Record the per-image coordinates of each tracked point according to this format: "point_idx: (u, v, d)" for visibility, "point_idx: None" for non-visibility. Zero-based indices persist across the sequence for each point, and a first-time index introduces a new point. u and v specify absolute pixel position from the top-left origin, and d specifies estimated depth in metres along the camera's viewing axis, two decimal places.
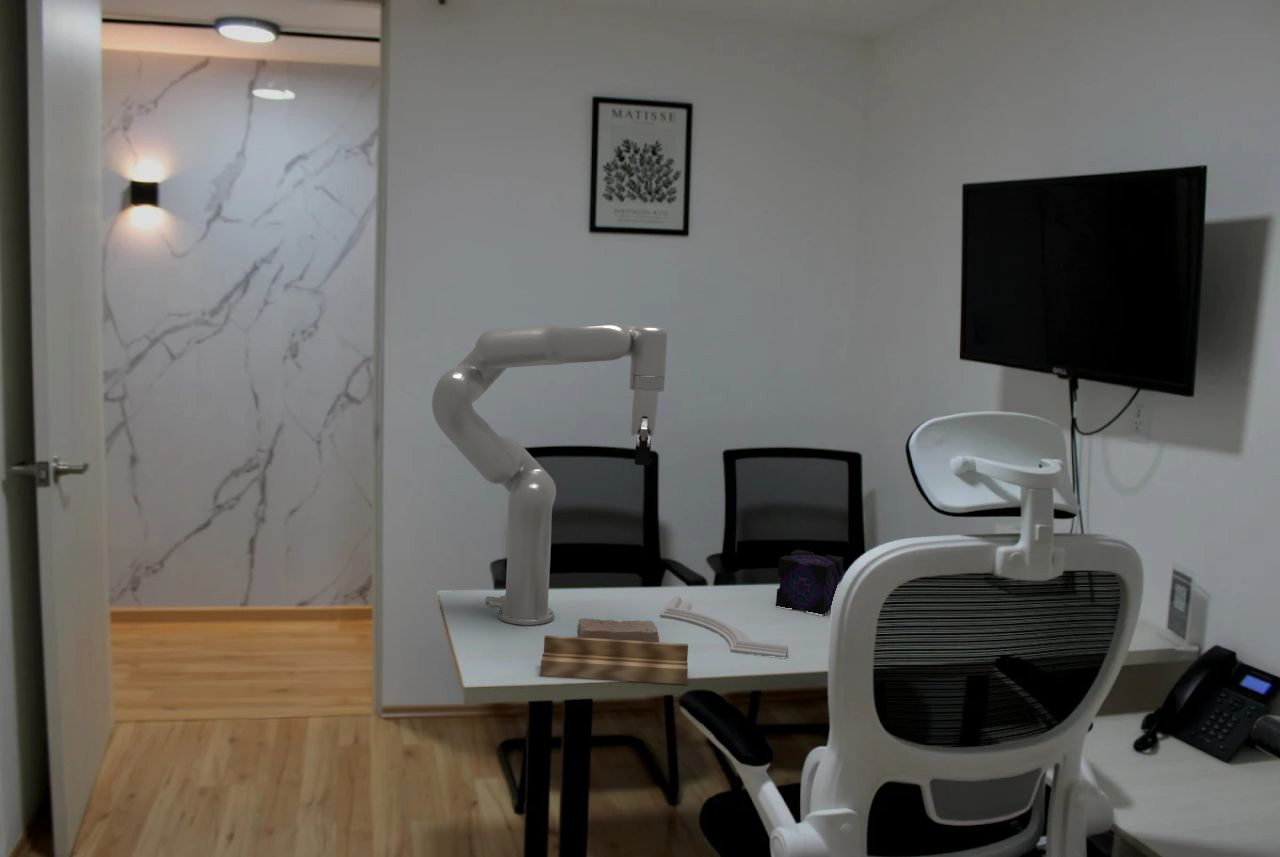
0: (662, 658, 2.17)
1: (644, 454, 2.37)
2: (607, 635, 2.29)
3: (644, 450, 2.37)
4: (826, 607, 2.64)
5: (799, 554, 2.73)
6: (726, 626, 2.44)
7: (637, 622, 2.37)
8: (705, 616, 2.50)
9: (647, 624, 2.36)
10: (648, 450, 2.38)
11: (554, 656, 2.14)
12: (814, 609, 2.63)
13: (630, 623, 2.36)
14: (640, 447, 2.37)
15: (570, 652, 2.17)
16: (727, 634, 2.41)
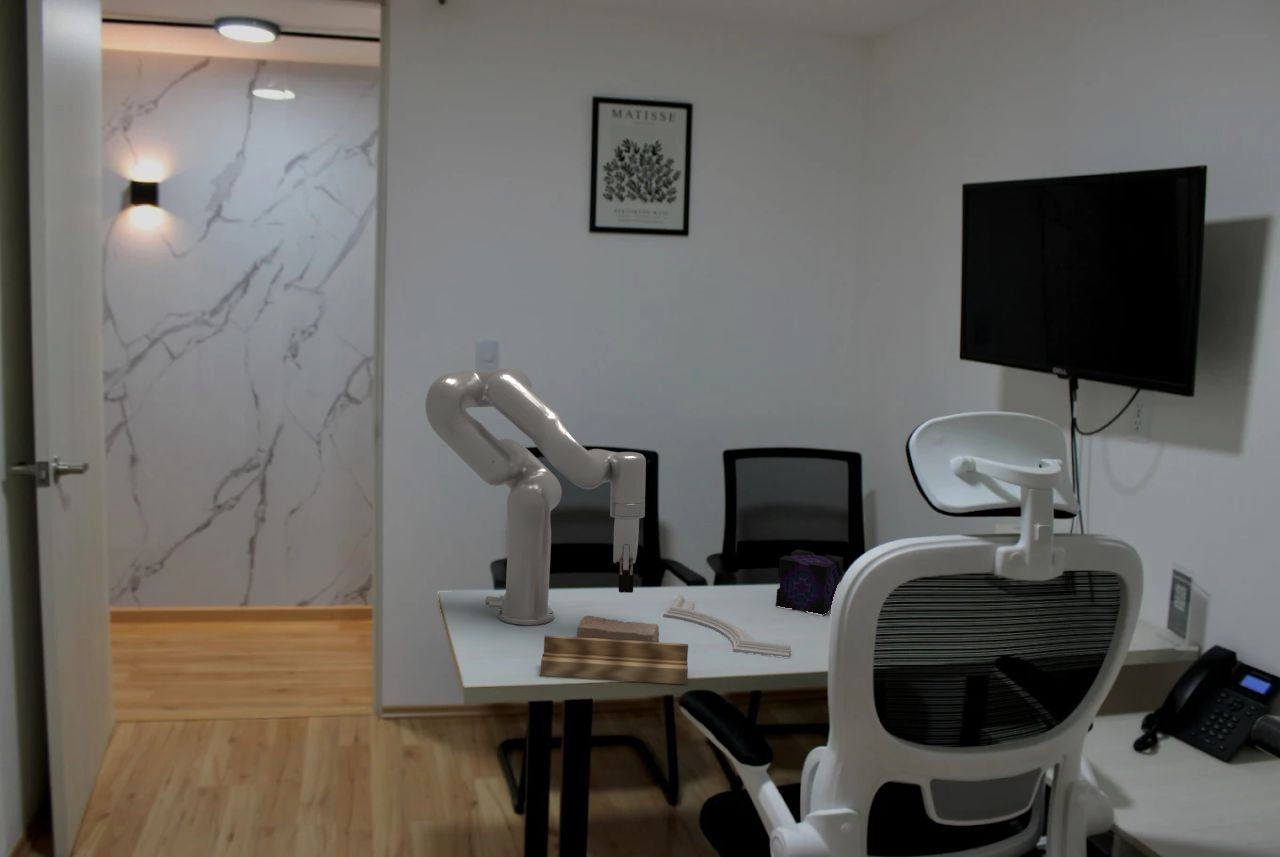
0: (662, 658, 2.17)
1: (627, 582, 2.42)
2: (602, 634, 2.30)
3: (627, 578, 2.42)
4: (826, 607, 2.64)
5: (799, 554, 2.73)
6: (729, 626, 2.44)
7: (640, 624, 2.35)
8: (708, 616, 2.50)
9: (648, 627, 2.34)
10: (631, 578, 2.43)
11: (554, 656, 2.14)
12: (814, 609, 2.63)
13: (632, 624, 2.35)
14: (623, 575, 2.42)
15: (570, 652, 2.17)
16: (730, 634, 2.42)
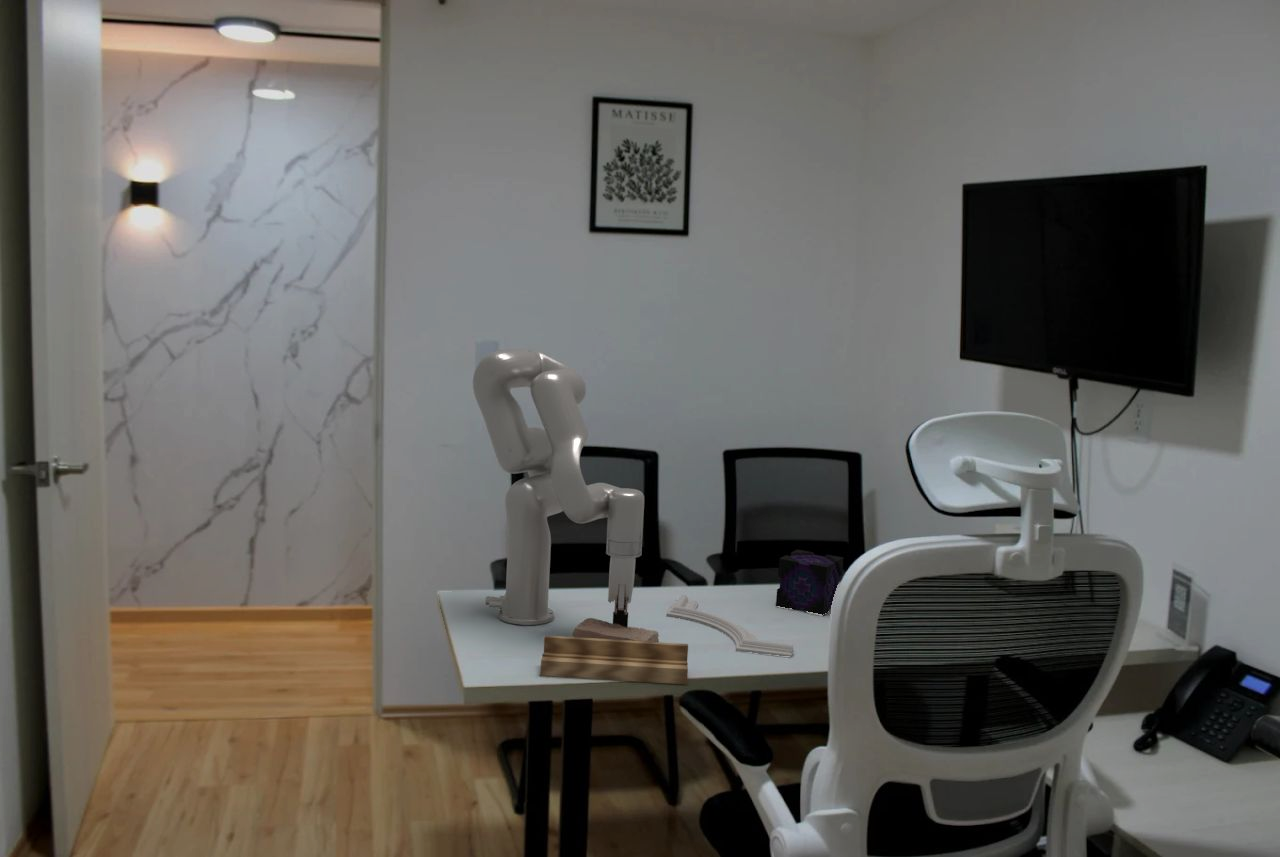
0: (662, 658, 2.17)
1: (622, 622, 2.36)
2: (596, 637, 2.28)
3: (622, 618, 2.36)
4: (826, 607, 2.64)
5: (799, 554, 2.73)
6: (732, 625, 2.44)
7: (639, 630, 2.32)
8: (711, 615, 2.51)
9: (646, 633, 2.30)
10: (626, 617, 2.37)
11: (554, 656, 2.14)
12: (814, 609, 2.63)
13: (631, 630, 2.32)
14: (617, 615, 2.36)
15: (570, 652, 2.17)
16: (733, 633, 2.42)
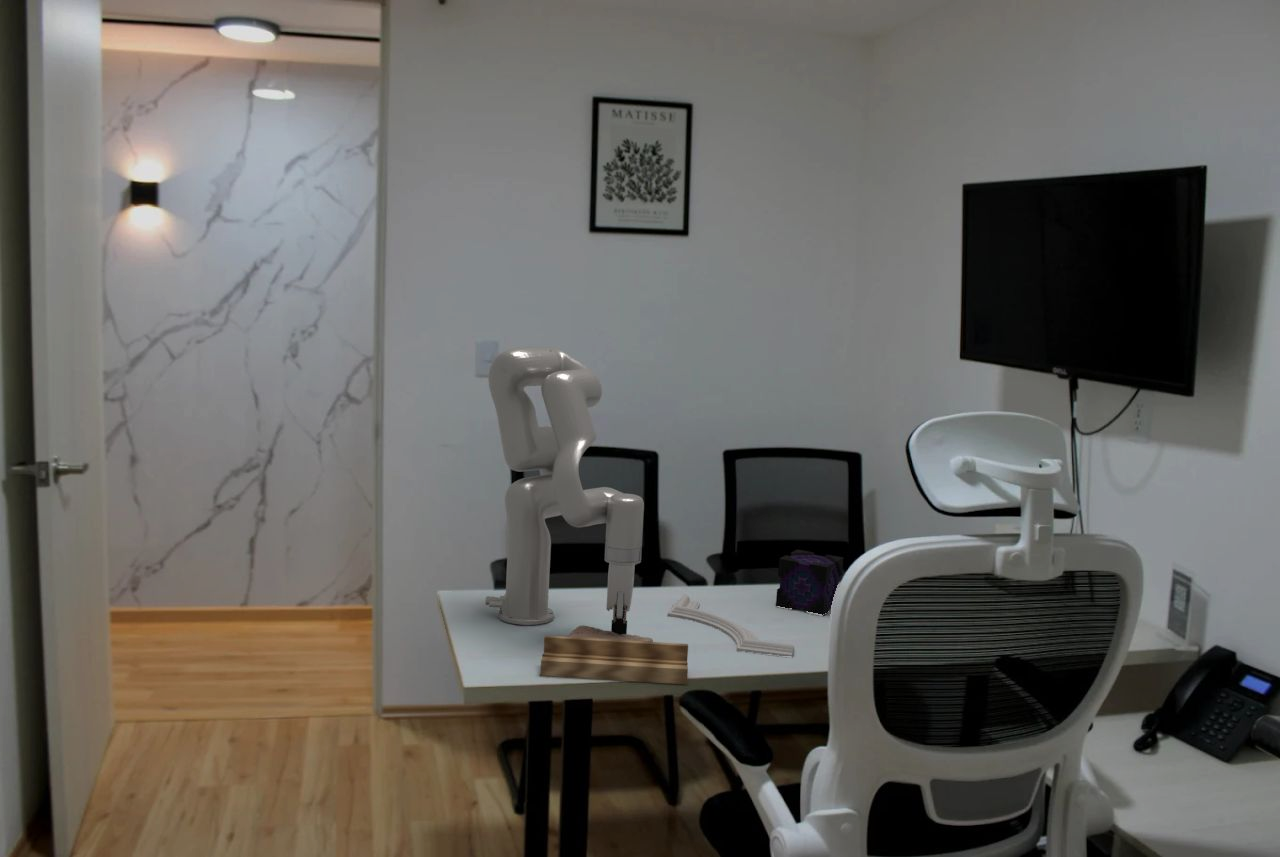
0: (662, 658, 2.17)
1: (620, 630, 2.30)
2: None
3: (620, 626, 2.30)
4: (826, 607, 2.64)
5: (799, 554, 2.73)
6: (733, 625, 2.45)
7: (634, 637, 2.27)
8: (712, 615, 2.51)
9: (640, 640, 2.25)
10: (624, 626, 2.31)
11: (554, 656, 2.14)
12: (814, 609, 2.63)
13: (625, 637, 2.27)
14: (616, 623, 2.30)
15: (570, 652, 2.17)
16: (734, 633, 2.42)
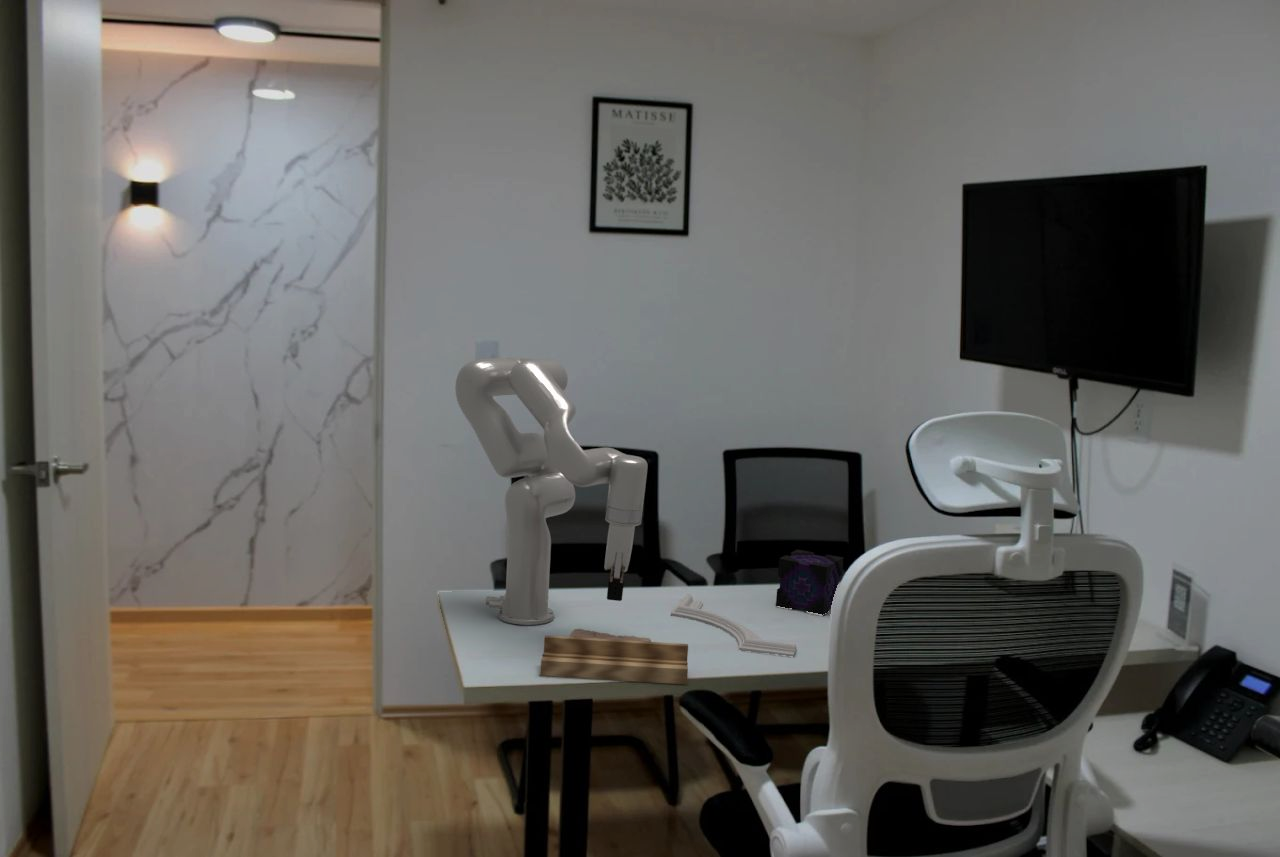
0: (662, 658, 2.17)
1: (617, 590, 2.33)
2: None
3: (617, 586, 2.32)
4: (826, 607, 2.64)
5: (799, 554, 2.73)
6: (735, 625, 2.45)
7: (632, 638, 2.26)
8: (715, 615, 2.51)
9: None
10: (621, 586, 2.33)
11: (554, 656, 2.14)
12: (814, 609, 2.63)
13: (624, 638, 2.26)
14: (613, 583, 2.32)
15: (570, 652, 2.17)
16: (736, 633, 2.43)
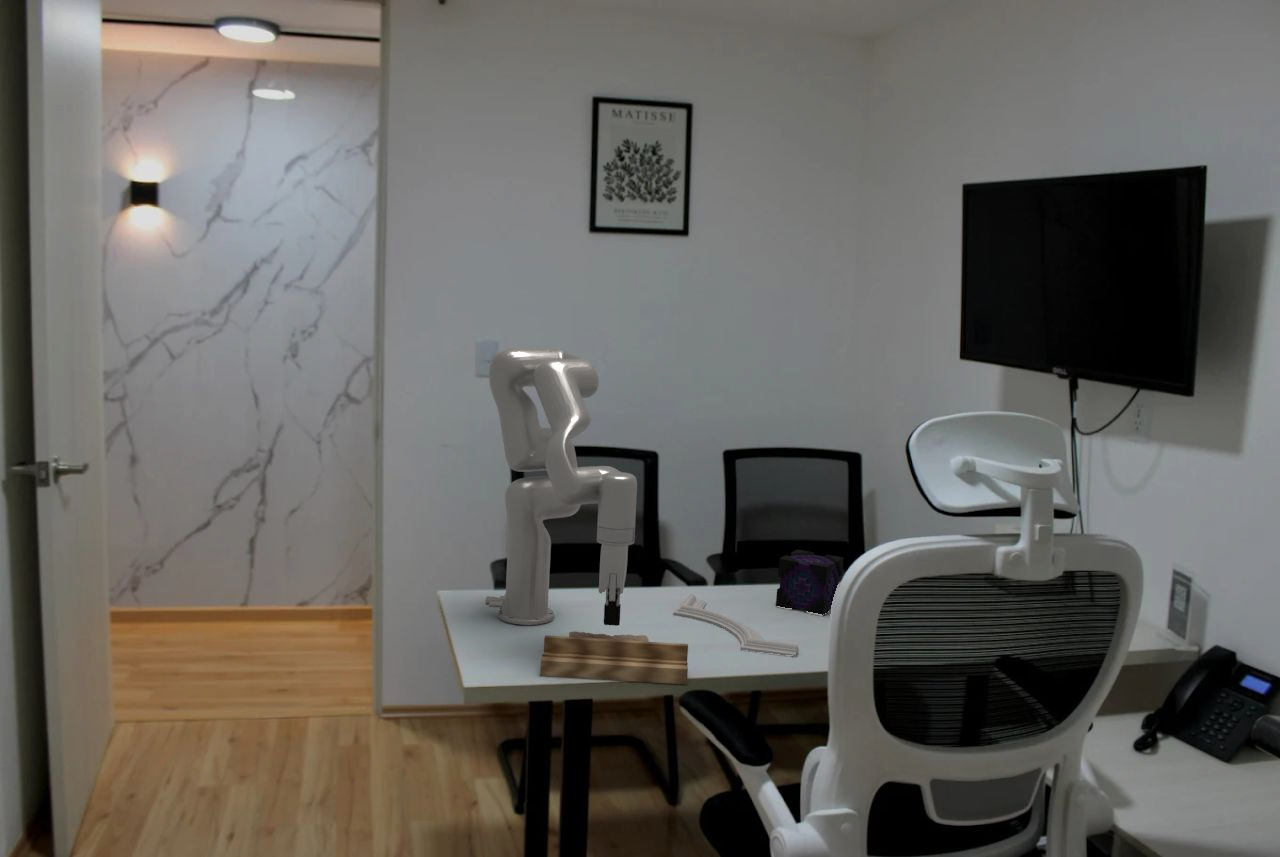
0: (662, 658, 2.17)
1: (613, 614, 2.22)
2: None
3: (613, 610, 2.22)
4: (826, 607, 2.64)
5: (799, 554, 2.73)
6: (738, 624, 2.45)
7: (630, 636, 2.27)
8: (718, 614, 2.52)
9: (640, 639, 2.25)
10: (618, 609, 2.23)
11: (554, 656, 2.14)
12: (814, 609, 2.63)
13: (622, 637, 2.26)
14: (609, 607, 2.22)
15: (570, 652, 2.17)
16: (738, 632, 2.43)
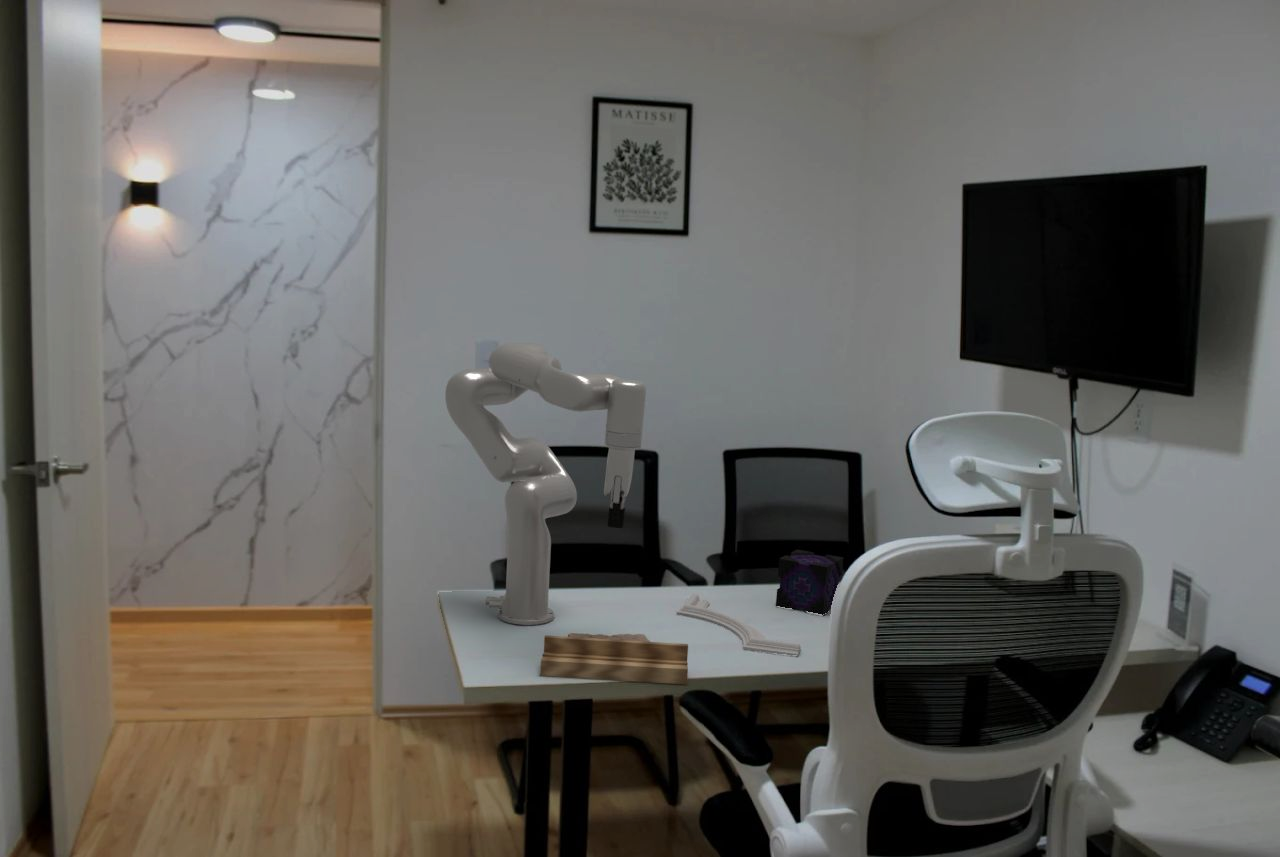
0: (662, 658, 2.17)
1: (617, 517, 2.29)
2: None
3: (617, 512, 2.29)
4: (826, 607, 2.64)
5: (799, 554, 2.73)
6: (740, 624, 2.46)
7: (628, 636, 2.27)
8: (720, 614, 2.52)
9: (639, 638, 2.26)
10: (622, 512, 2.30)
11: (554, 656, 2.14)
12: (814, 609, 2.63)
13: (621, 637, 2.26)
14: (613, 509, 2.29)
15: (570, 652, 2.17)
16: (741, 632, 2.43)
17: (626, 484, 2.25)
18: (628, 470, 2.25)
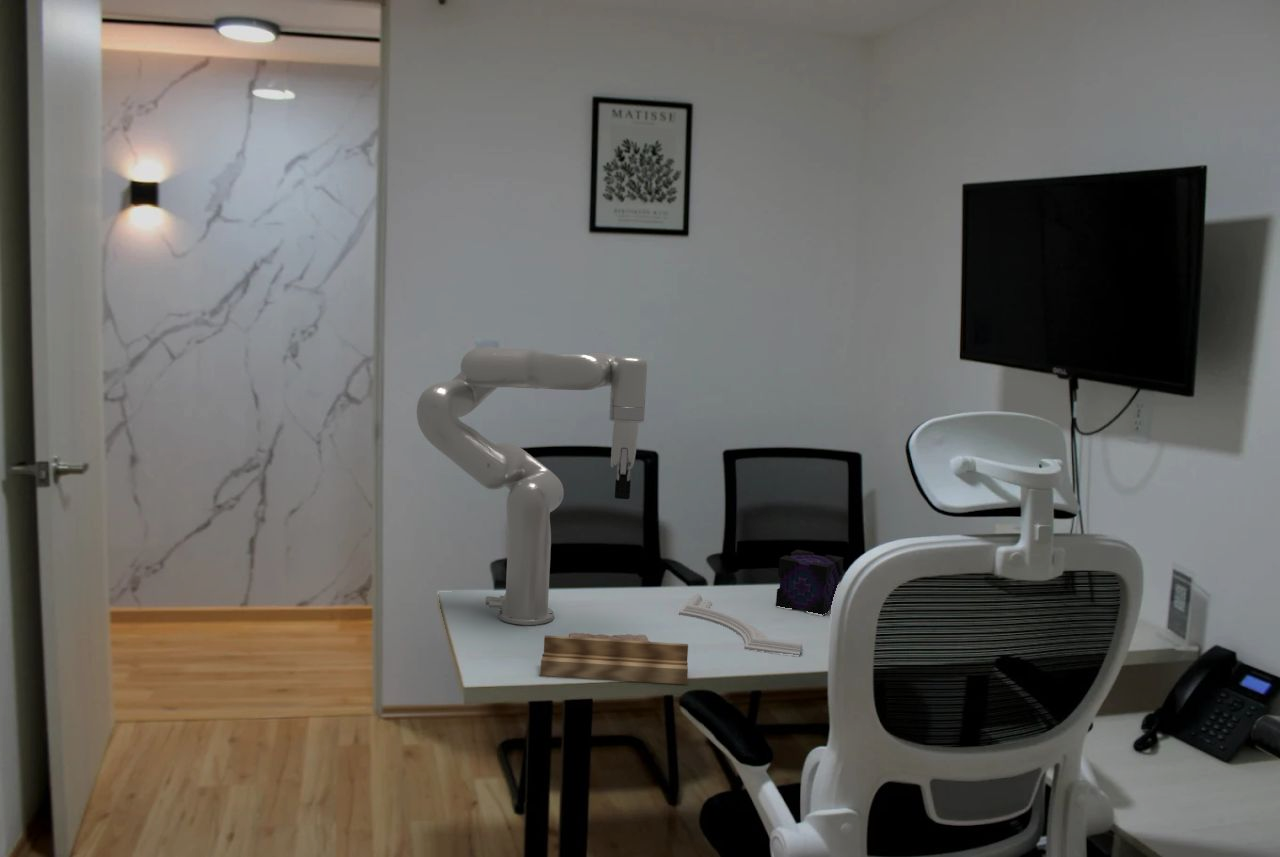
0: (662, 658, 2.17)
1: (624, 488, 2.39)
2: None
3: (624, 484, 2.39)
4: (826, 607, 2.64)
5: (799, 554, 2.73)
6: (743, 624, 2.46)
7: (629, 636, 2.27)
8: (723, 614, 2.52)
9: (640, 638, 2.26)
10: (628, 484, 2.39)
11: (554, 656, 2.14)
12: (814, 609, 2.63)
13: (622, 637, 2.26)
14: (620, 481, 2.38)
15: (570, 652, 2.17)
16: (743, 632, 2.44)
17: (632, 455, 2.34)
18: (634, 442, 2.34)
